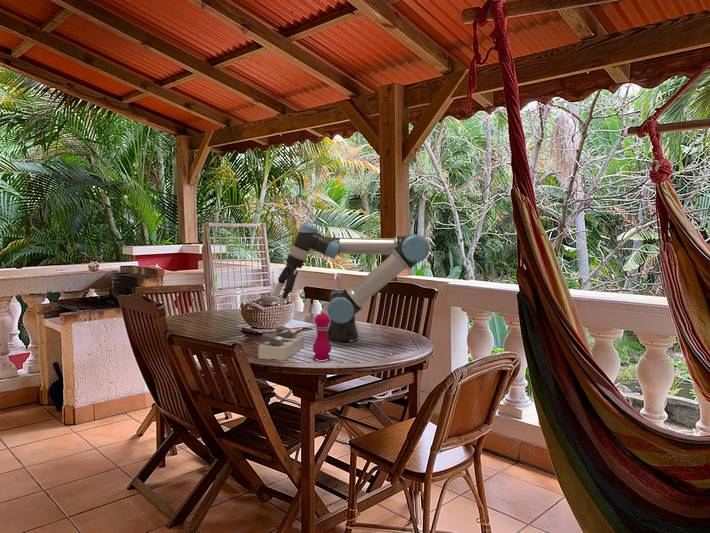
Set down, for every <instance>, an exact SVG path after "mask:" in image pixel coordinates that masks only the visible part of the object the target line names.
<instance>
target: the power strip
mask: <svg viewBox="0 0 710 533" xmlns="http://www.w3.org/2000/svg"><path fill="white" fill-rule="evenodd" d="M284 339H285V340H284V343H283V344H282V345H280V346H278V345H275V344H272V343H269V342H267V341H265V342H263V343H262V344H259V345H257V346H258V351H257V352H258V356H257V357H258V359H262V360H271V359H276V360H277V361H284V360H285V359H286V360H287V358H288V357H289V356H291V355H292V354H293V355H295V354H296V353H298V352H300V351H301V350H303V349H304V348H303V347H305V336H304V335H297V336H295V337H294V338H291V337H285V338H284ZM300 349H301V350H300ZM297 351H298V352H297ZM294 353H295V354H294ZM293 355H292V356H293ZM292 356H291V357H292ZM289 358H290V357H289ZM289 358H288V359H289ZM276 360H275V361H276ZM286 360H285V361H286Z"/></svg>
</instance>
